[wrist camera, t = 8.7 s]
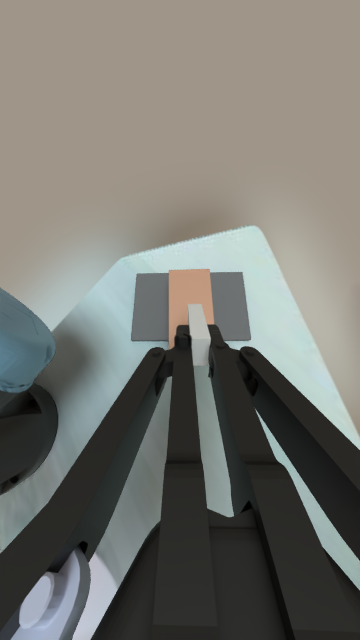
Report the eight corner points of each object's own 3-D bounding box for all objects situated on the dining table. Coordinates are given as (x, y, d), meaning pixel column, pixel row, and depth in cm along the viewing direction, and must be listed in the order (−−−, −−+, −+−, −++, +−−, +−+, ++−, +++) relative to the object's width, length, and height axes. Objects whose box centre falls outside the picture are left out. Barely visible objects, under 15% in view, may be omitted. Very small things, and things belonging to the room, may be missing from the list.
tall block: (168, 353, 22) (168, 270, 26) (171, 354, 27) (171, 284, 31) (216, 352, 22) (209, 268, 26) (210, 354, 27) (205, 283, 31)
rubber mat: (133, 341, 29) (130, 340, 28) (138, 276, 33) (136, 273, 32) (248, 340, 29) (251, 339, 27) (240, 275, 32) (242, 272, 31)
